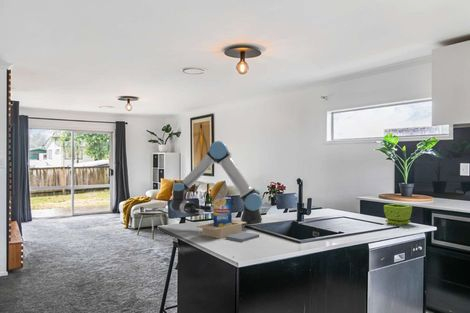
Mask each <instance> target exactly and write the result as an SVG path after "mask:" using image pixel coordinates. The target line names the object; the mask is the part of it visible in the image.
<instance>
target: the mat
mask: <svg viewBox="0 0 470 313" xmlns="http://www.w3.org/2000/svg"><path fill="white" fill-rule="evenodd" d="M257 238H260V234H258V233H254V232H247V231H242V232H240V233H236V234H232V235H228V236H226V237H225V239H226V240H230V241H235V242H239V243H240V242H241V243H243V242H247V241H250V240H254V239H257Z"/></svg>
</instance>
